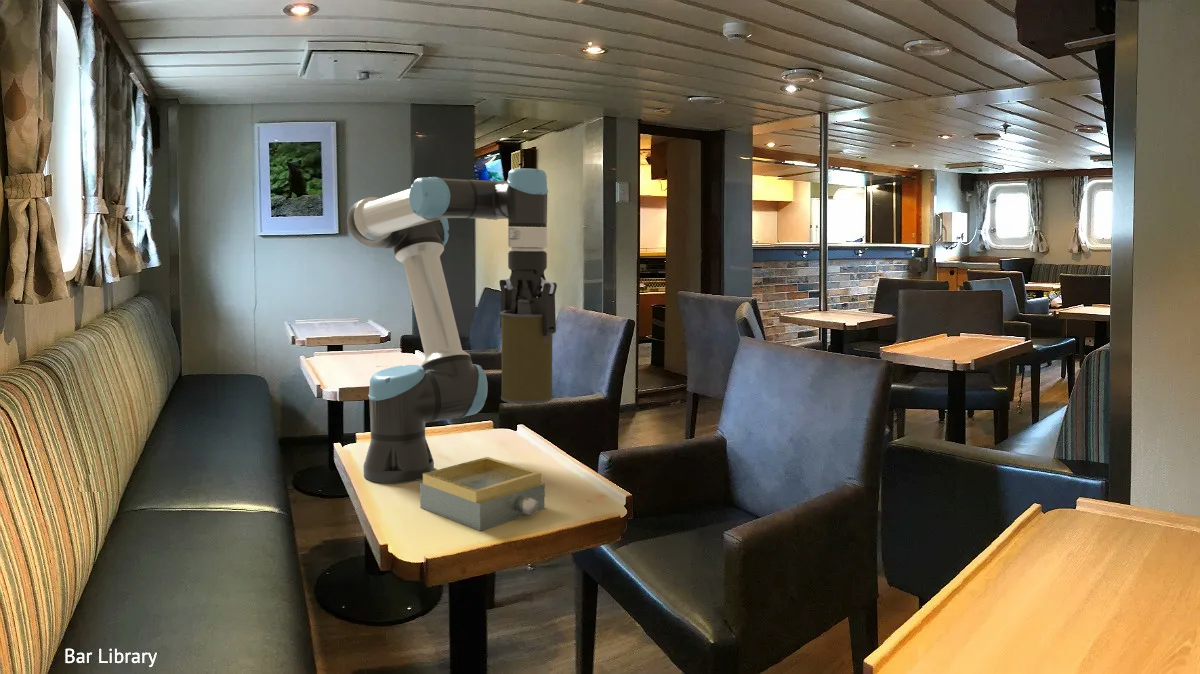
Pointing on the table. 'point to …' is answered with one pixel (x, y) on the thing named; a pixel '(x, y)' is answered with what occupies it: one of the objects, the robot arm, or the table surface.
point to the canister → (525, 357)
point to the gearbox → (482, 492)
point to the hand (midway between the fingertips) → (527, 366)
